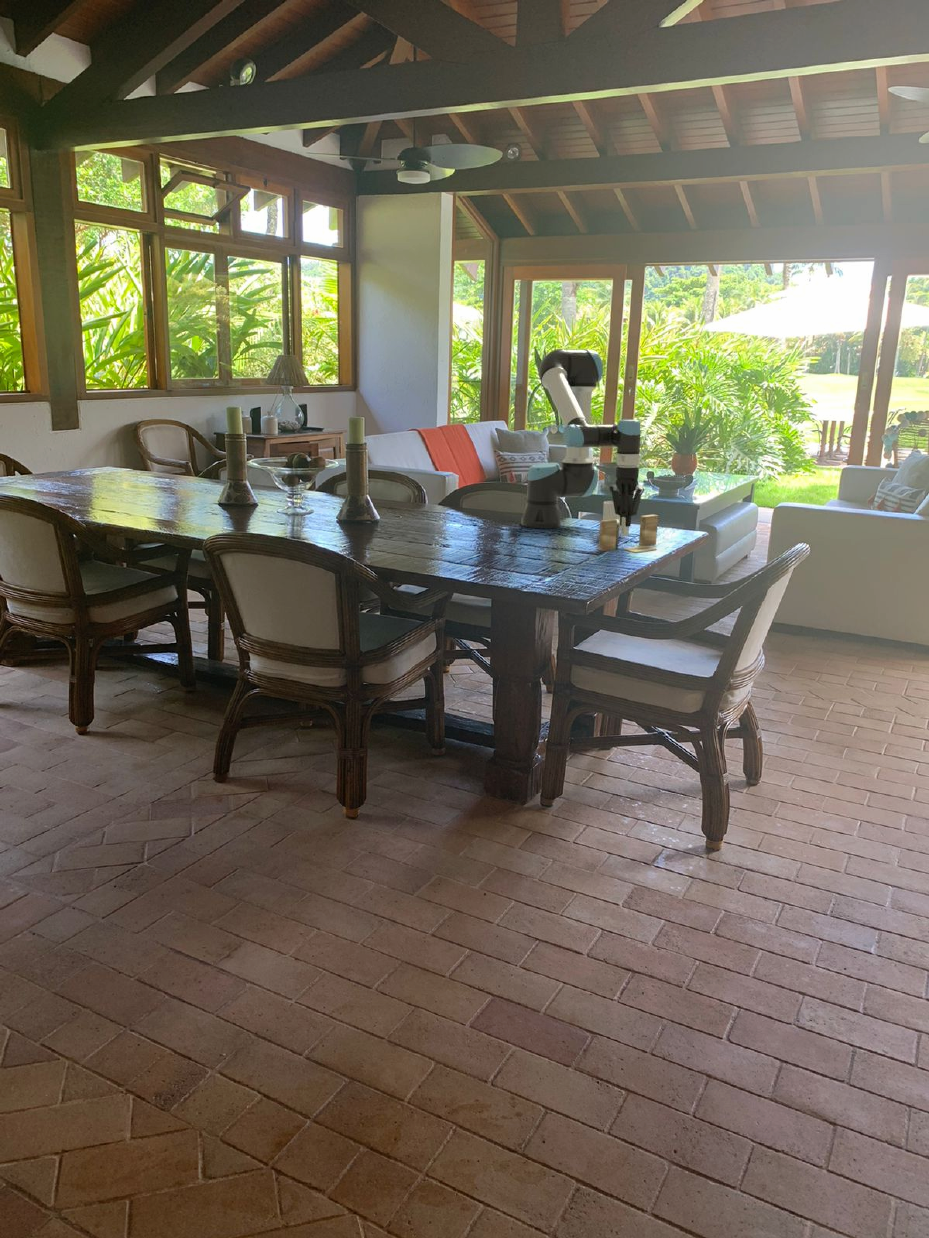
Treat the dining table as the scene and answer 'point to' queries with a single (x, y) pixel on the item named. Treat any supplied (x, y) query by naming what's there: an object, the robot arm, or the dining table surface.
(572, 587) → the dining table surface
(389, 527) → the dining table surface
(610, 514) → the mug
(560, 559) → the dining table surface
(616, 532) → the gate door
